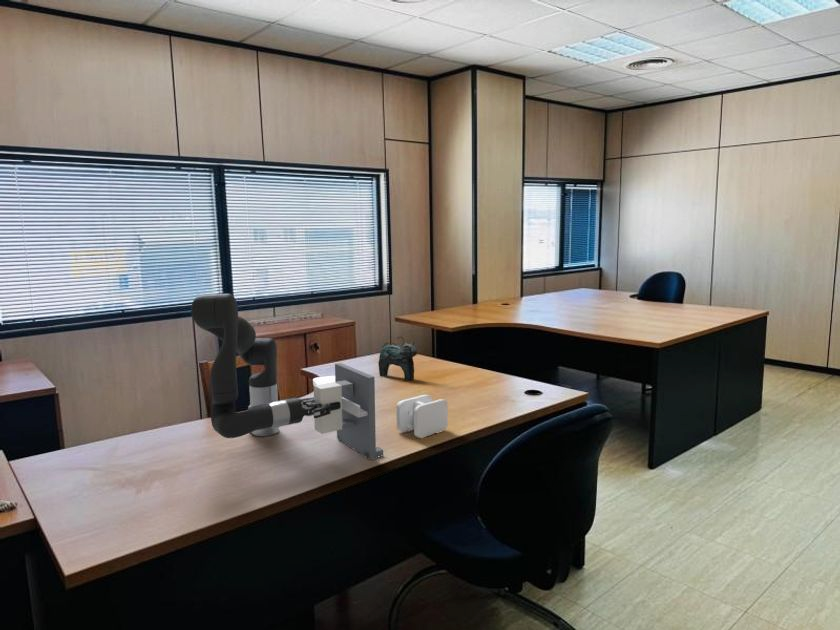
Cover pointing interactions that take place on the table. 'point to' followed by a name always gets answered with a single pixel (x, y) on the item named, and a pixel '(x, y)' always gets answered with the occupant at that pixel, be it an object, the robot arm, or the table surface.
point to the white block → (331, 395)
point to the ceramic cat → (398, 359)
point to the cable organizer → (422, 415)
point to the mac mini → (323, 380)
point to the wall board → (358, 411)
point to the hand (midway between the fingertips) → (335, 402)
